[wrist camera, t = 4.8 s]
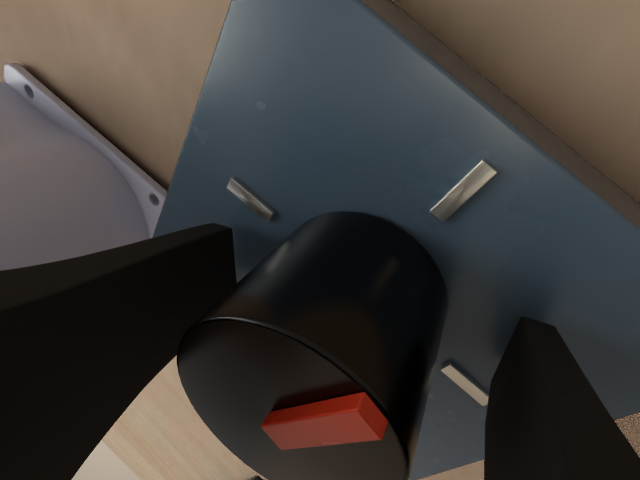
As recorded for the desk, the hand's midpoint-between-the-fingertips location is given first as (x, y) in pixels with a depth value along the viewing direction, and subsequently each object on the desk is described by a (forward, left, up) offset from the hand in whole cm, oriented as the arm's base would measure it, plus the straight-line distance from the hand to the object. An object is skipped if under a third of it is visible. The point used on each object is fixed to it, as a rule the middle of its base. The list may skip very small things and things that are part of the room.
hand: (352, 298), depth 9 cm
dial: (0, 0, 0) cm, 0 cm away
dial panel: (0, 0, -3) cm, 3 cm away
